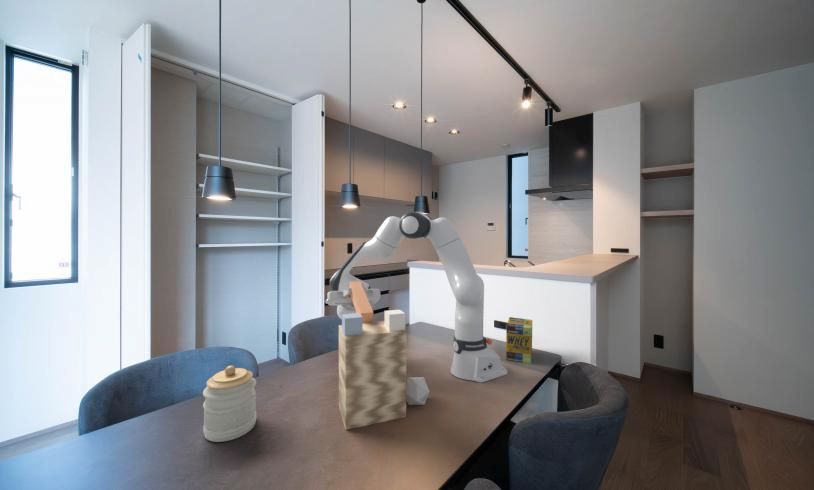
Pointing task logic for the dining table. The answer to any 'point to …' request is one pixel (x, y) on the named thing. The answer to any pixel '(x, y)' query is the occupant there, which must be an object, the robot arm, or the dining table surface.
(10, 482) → the dining table surface
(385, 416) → the oak stand
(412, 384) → the die
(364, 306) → the bar terracotta
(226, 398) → the jar
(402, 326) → the cube cream
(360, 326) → the cube slate
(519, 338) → the protein box
